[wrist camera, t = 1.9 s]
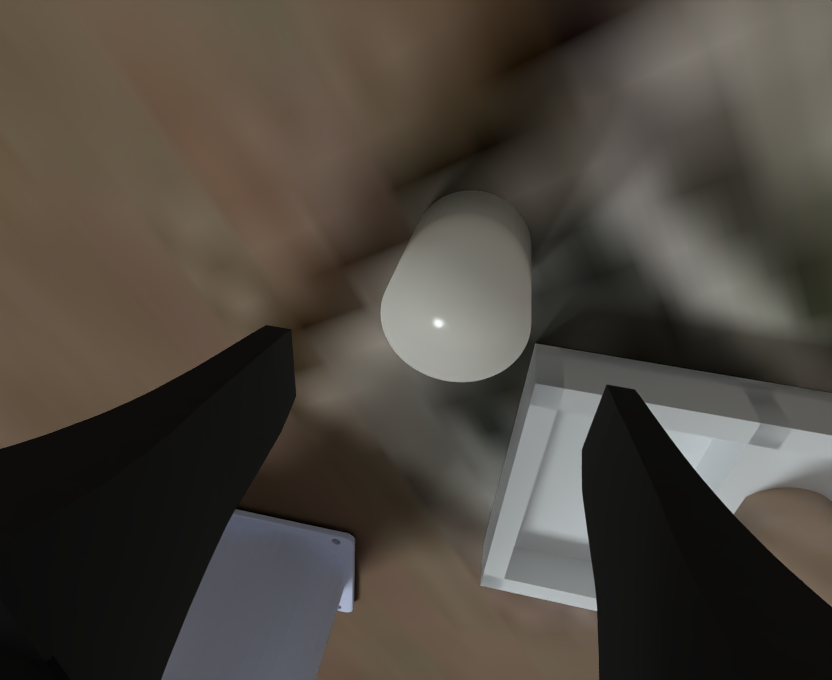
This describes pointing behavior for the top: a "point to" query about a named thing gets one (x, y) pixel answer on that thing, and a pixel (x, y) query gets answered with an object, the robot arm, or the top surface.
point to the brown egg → (794, 532)
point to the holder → (681, 419)
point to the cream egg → (462, 289)
